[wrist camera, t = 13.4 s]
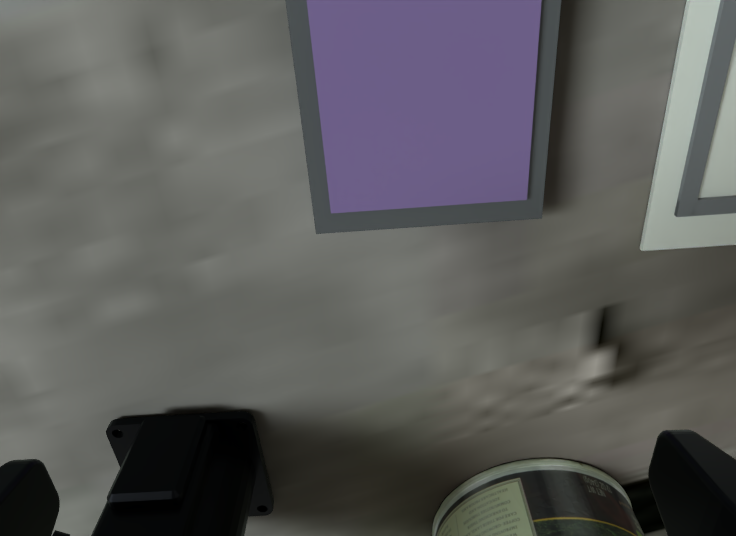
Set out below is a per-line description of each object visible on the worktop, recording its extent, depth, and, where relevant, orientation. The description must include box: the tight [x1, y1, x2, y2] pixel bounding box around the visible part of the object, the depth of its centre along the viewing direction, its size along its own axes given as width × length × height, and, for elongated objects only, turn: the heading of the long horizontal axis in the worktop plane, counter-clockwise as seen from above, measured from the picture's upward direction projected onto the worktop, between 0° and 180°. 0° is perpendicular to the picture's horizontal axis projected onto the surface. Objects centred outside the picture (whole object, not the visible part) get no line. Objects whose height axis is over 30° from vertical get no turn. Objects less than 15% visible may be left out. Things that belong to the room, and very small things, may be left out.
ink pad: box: [286, 0, 561, 234], centre depth 17 cm, size 10×8×2 cm
